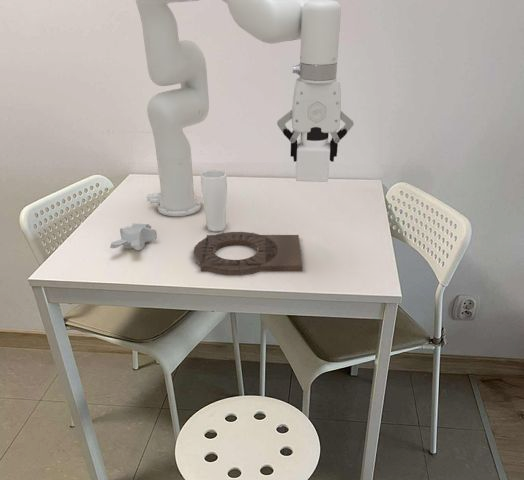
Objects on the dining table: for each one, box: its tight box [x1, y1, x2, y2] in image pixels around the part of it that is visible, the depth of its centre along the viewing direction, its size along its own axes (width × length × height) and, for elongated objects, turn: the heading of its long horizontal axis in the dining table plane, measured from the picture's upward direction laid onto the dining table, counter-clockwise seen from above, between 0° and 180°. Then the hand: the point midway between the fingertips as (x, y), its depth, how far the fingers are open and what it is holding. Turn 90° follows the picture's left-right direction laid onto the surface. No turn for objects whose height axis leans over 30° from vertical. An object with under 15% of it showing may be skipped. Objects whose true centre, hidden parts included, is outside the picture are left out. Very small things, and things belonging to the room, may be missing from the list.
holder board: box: [192, 231, 303, 276], centre depth 134 cm, size 26×21×2 cm
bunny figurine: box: [109, 222, 157, 251], centre depth 137 cm, size 10×5×15 cm
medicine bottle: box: [295, 127, 330, 183], centre depth 119 cm, size 7×7×12 cm
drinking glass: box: [200, 169, 228, 232], centre depth 142 cm, size 7×7×15 cm
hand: (313, 159), depth 120 cm, fingers closed on medicine bottle, 7 cm apart
